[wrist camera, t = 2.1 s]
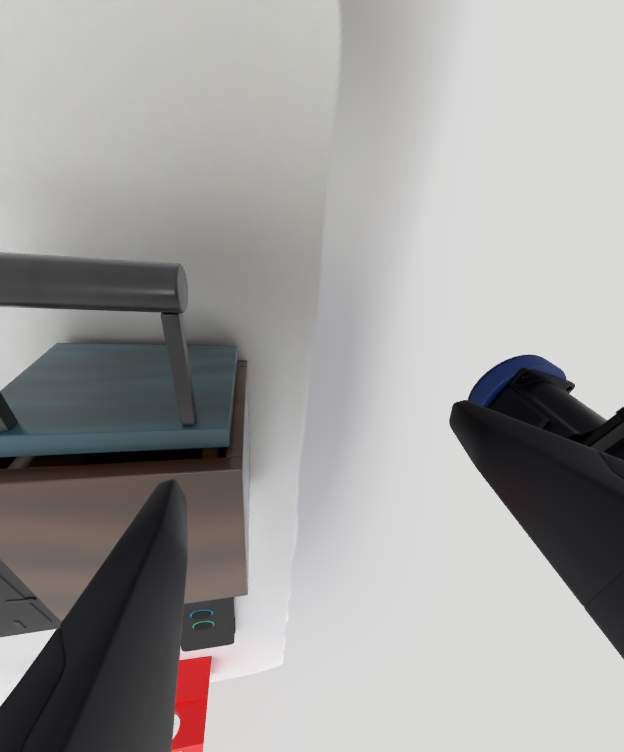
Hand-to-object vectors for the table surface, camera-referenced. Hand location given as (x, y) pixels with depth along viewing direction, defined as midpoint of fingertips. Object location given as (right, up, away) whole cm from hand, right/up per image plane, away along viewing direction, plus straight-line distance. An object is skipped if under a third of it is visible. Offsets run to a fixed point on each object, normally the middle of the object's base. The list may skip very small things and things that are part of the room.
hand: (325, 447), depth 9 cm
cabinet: (-11, -2, +15) cm, 19 cm away
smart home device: (-16, -33, +35) cm, 51 cm away
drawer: (-11, +2, +11) cm, 15 cm away
